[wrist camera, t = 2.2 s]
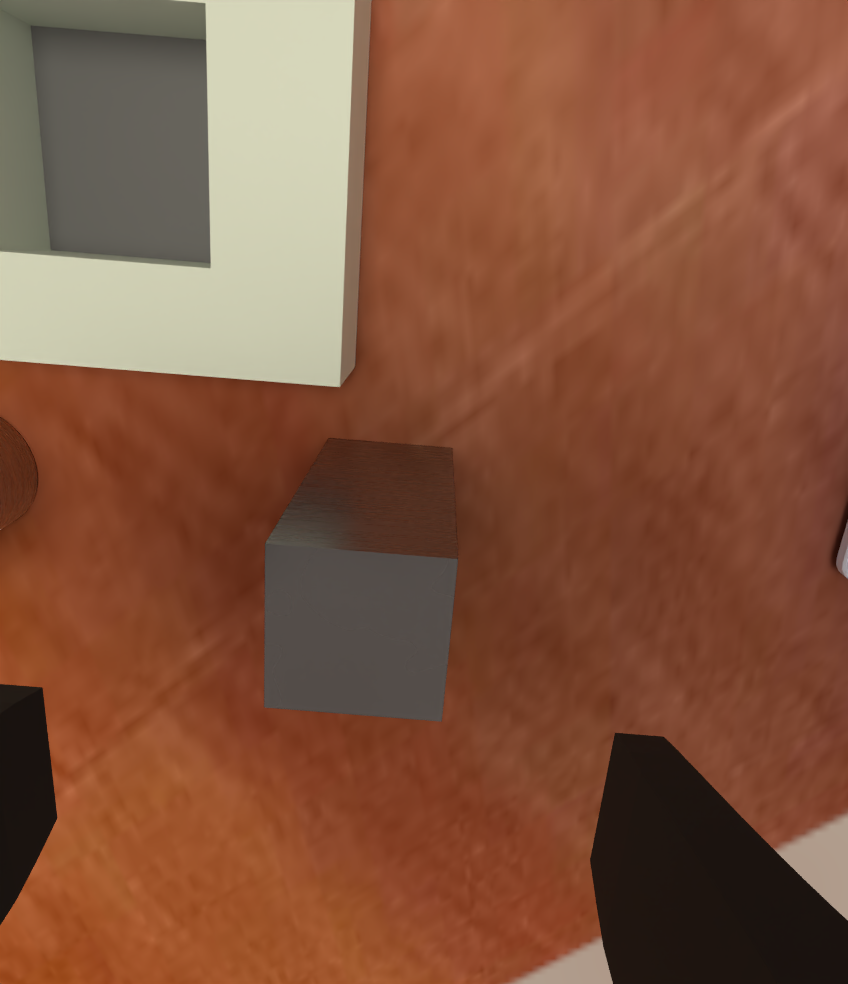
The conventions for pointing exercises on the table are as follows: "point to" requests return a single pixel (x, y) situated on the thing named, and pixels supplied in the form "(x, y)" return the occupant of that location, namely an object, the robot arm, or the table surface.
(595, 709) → the table surface
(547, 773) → the table surface
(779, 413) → the table surface
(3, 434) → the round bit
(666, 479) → the table surface
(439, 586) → the square bit
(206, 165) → the bore block
